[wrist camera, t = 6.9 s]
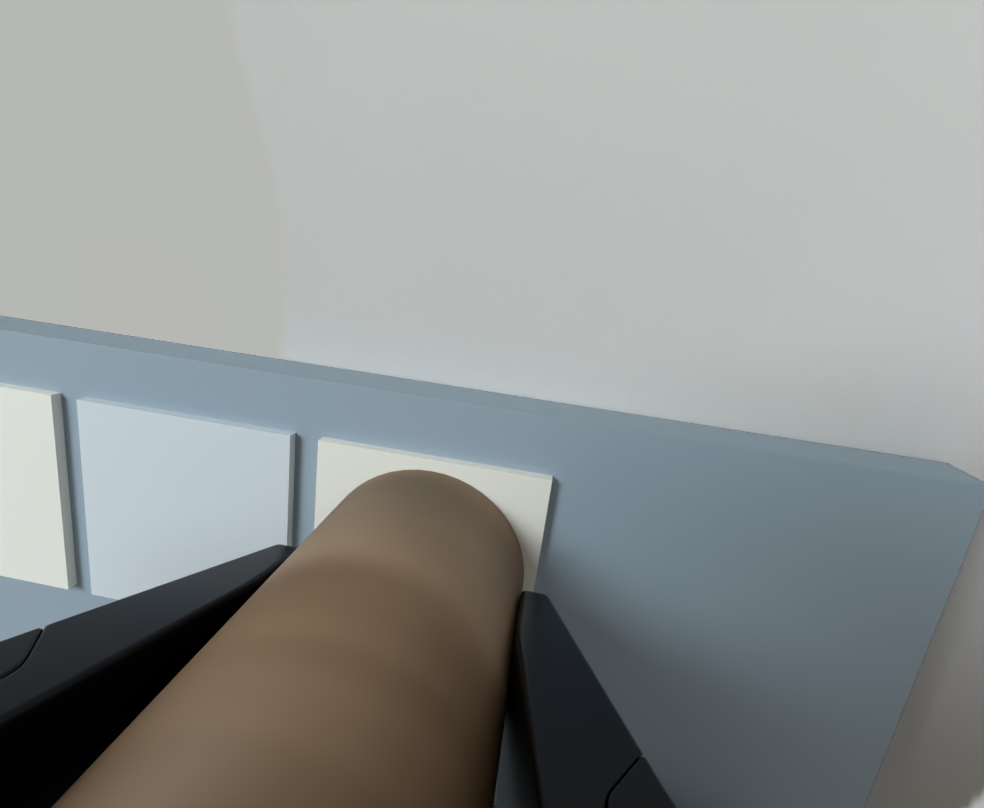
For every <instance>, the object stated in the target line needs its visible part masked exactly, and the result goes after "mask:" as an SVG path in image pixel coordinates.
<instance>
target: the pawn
mask: <svg viewBox="0 0 984 808" xmlns="http://www.w3.org/2000/svg"><path fill="white" fill-rule="evenodd" d="M523 579H524V564H523V557H522V552H521V547H520V544H519V542H518V539H517V536H516V534H515V532H514V530H513V528H512V526H511V524H510V523H509V521H508V520H507V518H506V517H505V516H504V514H503V513H502V512H501V510H500V509H499V508H498V507H497V506H496V505H495V504H494V503H493V502H492V501H491V500H490V499H489V498H488V497H486V496H485V495H484V494H483V493H481V492H480V491H478V490H477V489H476V488H474V487H473V486H471V485H469V484H467V483H465V482H463V481H461V480H459V479H457V478H454V477H451V476H449V475H446V474H442V473H438V472H434V471H427V470H400V471H393V472H389V473H385V474H382V475H378V476H376V477H374V478H372V479H369V480H367V481H366V482H364V483H362V484H361V485H359V486H358V487H356V488H355V489H354V490H353V491H352V492H350V493H349V494H348V495H347V496H346V497H345V498H344V499H343V500H342V501H341V502H340V503H339V504H338V505H337V507H336V508H335V509H334V510H333V511H332V512H331V513H330V514H329V515H328V516H327V517H326V518H325V519H324V520H323V521H322V522H321V523H320V524H319V525H318V527H317V528H316V529H315V530H314V531H313V532H312V533H311V534H310V535H309V536H308V537H307V538H306V539H305V540H304V541H303V542H302V543H301V544H300V546H299V547H298V548H297V549H296V550H295V551H294V552H293V553H292V554H291V555H290V556H289V557H288V558H287V559H286V560H285V561H284V562H283V563H282V565H281V566H280V567H279V568H278V569H277V570H276V571H275V572H274V573H273V574H272V575H271V576H270V577H269V578H268V579H267V580H266V581H265V582H264V583H263V585H262V586H261V587H260V588H259V589H258V590H257V591H256V592H255V593H254V594H253V595H252V596H251V597H250V598H249V599H248V600H247V601H246V602H245V604H244V605H243V606H242V607H241V608H240V609H239V610H238V611H237V612H236V613H235V614H234V615H233V616H232V617H231V618H230V619H229V620H228V621H227V622H226V624H225V625H224V626H223V627H222V628H221V629H220V630H219V631H218V632H217V633H216V634H215V635H214V636H213V637H212V638H211V639H210V640H209V641H208V643H207V644H206V645H205V646H204V647H203V648H202V649H201V650H200V651H199V652H198V653H197V654H196V655H195V656H194V657H193V658H192V659H191V660H190V662H189V663H188V664H187V665H186V666H185V667H184V668H183V669H182V670H181V671H180V672H179V673H178V674H177V675H176V676H175V677H174V678H173V679H172V680H171V682H170V683H169V684H168V685H167V686H166V687H165V688H164V689H163V690H162V691H161V692H160V693H159V694H158V695H157V696H156V697H155V698H154V699H153V701H152V702H151V703H150V704H149V705H148V706H147V707H146V708H145V709H144V710H143V711H142V712H141V713H140V714H139V715H138V716H137V717H136V718H135V720H134V721H133V722H132V723H131V724H130V725H129V726H128V727H127V728H126V729H125V730H124V731H123V732H122V733H121V734H120V735H119V736H118V737H117V738H116V740H115V741H114V742H113V743H112V744H111V745H110V746H109V747H108V748H107V749H106V750H105V751H104V752H103V753H102V754H101V755H100V756H99V757H98V759H97V760H96V761H95V762H94V763H93V764H92V765H91V766H90V767H89V768H88V769H87V770H86V771H85V772H84V773H83V774H82V775H81V776H80V778H79V779H78V780H77V781H76V782H75V783H74V784H73V785H72V786H71V787H70V788H69V789H68V790H67V791H66V792H65V793H64V794H63V795H62V796H61V798H60V799H59V800H58V801H57V802H56V803H55V804H54V805H53V806H52V807H51V808H493V805H494V798H495V790H496V783H497V775H498V768H499V760H500V753H501V745H502V738H503V730H504V723H505V715H506V708H507V700H508V692H509V682H510V672H511V660H512V651H513V644H514V637H515V630H516V622H517V615H518V608H519V601H520V595H521V593H522V588H523Z"/></svg>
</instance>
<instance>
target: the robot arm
mask: <svg viewBox="0 0 984 808" xmlns="http://www.w3.org/2000/svg"><path fill="white" fill-rule="evenodd" d="M296 549H297V547H292V546H287V545H282V544H277V545H274V546H271V547H268V548H265V549H262V550H259V551H257V552H254V553H251V554H248V555H245V556H242V557H240V558H237V559H234V560H231V561H228V562H225V563H222V564H220V565H217V566H214V567H211V568H208V569H205V570H202V571H200V572H197V573H194V574H191V575H188V576H185V577H182V578H180V579H177V580H174V581H171V582H168V583H165V584H163V585H160V586H157V587H154V588H151V589H148V590H145V591H143V592H140V593H137V594H134V595H131V596H128V597H125V598H123V599H120V600H117V601H114V602H111V603H108V604H106V605H103V606H100V607H97V608H94V609H91V610H88V611H86V612H83V613H80V614H77V615H74V616H71V617H68V618H66V619H63V620H60V621H57V622H54V623H51V624H48V625H46V626H45V628H44V629H42V628H37V629H34V630H31V631H28V632H25V633H22V634H20V635H17V636H14V637H11V638H8V639H5V640H3V641H0V808H51V807H52V806H53V805H54V804H55V803H56V802H57V801H58V800H59V799H60V798H61V796H62V795H63V794H64V793H65V792H66V791H67V790H68V789H69V788H70V787H71V786H72V785H73V784H74V783H75V782H76V781H77V780H78V779H79V778H80V776H81V775H82V774H83V773H84V772H85V771H86V770H87V769H88V768H89V767H90V766H91V765H92V764H93V763H94V762H95V761H96V760H97V759H98V757H99V756H100V755H101V754H102V753H103V752H104V751H105V750H106V749H107V748H108V747H109V746H110V745H111V744H112V743H113V742H114V741H115V740H116V738H117V737H118V736H119V735H120V734H121V733H122V732H123V731H124V730H125V729H126V728H127V727H128V726H129V725H130V724H131V723H132V722H133V721H134V720H135V718H136V717H137V716H138V715H139V714H140V713H141V712H142V711H143V710H144V709H145V708H146V707H147V706H148V705H149V704H150V703H151V702H152V701H153V699H154V698H155V697H156V696H157V695H158V694H159V693H160V692H161V691H162V690H163V689H164V688H165V687H166V686H167V685H168V684H169V683H170V682H171V680H172V679H173V678H174V677H175V676H176V675H177V674H178V673H179V672H180V671H181V670H182V669H183V668H184V667H185V666H186V665H187V664H188V663H189V662H190V660H191V659H192V658H193V657H194V656H195V655H196V654H197V653H198V652H199V651H200V650H201V649H202V648H203V647H204V646H205V645H206V644H207V643H208V641H209V640H210V639H211V638H212V637H213V636H214V635H215V634H216V633H217V632H218V631H219V630H220V629H221V628H222V627H223V626H224V625H225V624H226V622H227V621H228V620H229V619H230V618H231V617H232V616H233V615H234V614H235V613H236V612H237V611H238V610H239V609H240V608H241V607H242V606H243V605H244V604H245V602H246V601H247V600H248V599H249V598H250V597H251V596H252V595H253V594H254V593H255V592H256V591H257V590H258V589H259V588H260V587H261V586H262V585H263V583H264V582H265V581H266V580H267V579H268V578H269V577H270V576H271V575H272V574H273V573H274V572H275V571H276V570H277V569H278V568H279V567H280V566H281V565H282V563H283V562H284V561H285V560H286V559H287V558H288V557H289V556H290V555H291V554H292V553H293V552H294V551H295V550H296ZM496 808H677V807H676V806H675V804H674V802H673V801H672V799H671V798H670V796H669V795H668V793H667V792H666V790H665V788H664V787H663V785H662V784H661V782H660V781H659V779H658V777H657V776H656V774H655V772H654V771H653V769H652V767H651V766H650V764H649V762H648V761H647V759H646V758H645V757H643V754H642V751H641V750H640V748H639V746H638V745H637V743H636V741H635V740H634V738H633V736H632V735H631V733H630V731H629V730H628V728H627V726H626V725H625V723H624V721H623V720H622V718H621V716H620V715H619V713H618V711H617V710H616V708H615V706H614V705H613V703H612V702H611V700H610V698H609V697H608V695H607V693H606V692H605V690H604V688H603V687H602V685H601V683H600V682H599V680H598V678H597V677H596V675H595V673H594V672H593V670H592V668H591V667H590V665H589V663H588V662H587V660H586V658H585V657H584V655H583V653H582V652H581V650H580V649H579V647H578V645H577V644H576V642H575V640H574V639H573V637H572V635H571V634H570V632H569V630H568V629H567V627H566V625H565V624H564V622H563V620H562V619H561V617H560V615H559V614H558V612H557V610H556V609H555V607H554V605H553V604H552V602H551V600H550V599H549V597H548V596H547V595H545V594H542V593H536V592H531V591H523V592H522V593H521V595H520V601H519V608H518V615H517V622H516V630H515V637H514V644H513V651H512V660H511V672H510V682H509V692H508V700H507V708H506V715H505V723H504V730H503V738H502V745H501V753H500V760H499V768H498V775H497V799H496Z"/></svg>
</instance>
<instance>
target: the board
mask: <svg viewBox="0 0 984 808" xmlns="http://www.w3.org/2000/svg"><path fill="white" fill-rule="evenodd" d="M400 470H427V471H434V472H438V473H442V474H446V475H449V476H451V477H454V478H457V479H459V480H461V481H463V482H465V483H467V484H469V485H471V486H473V487H474V488H476V489H477V490H478V491H480V492H481V493H483V494H484V495H485V496H486V497H488V498H489V499H490V500H491V501H492V502H493V503H494V504H495V505H496V506H497V507H498V508H499V509H500V510H501V512H502V513H503V514H504V516H505V517H506V518H507V520H508V521H509V523H510V524H511V526H512V528H513V530H514V532H515V534H516V536H517V539H518V542H519V544H520V547H521V552H522V557H523V564H524V579H523V588H522V592H523V591H531V592H536V593H542V594H545V595H547V596H548V597H549V599H550V600H551V602H552V604H553V605H554V607H555V609H556V610H557V612H558V614H559V615H560V617H561V619H562V620H563V622H564V624H565V625H566V627H567V629H568V630H569V632H570V634H571V635H572V637H573V639H574V640H575V642H576V644H577V645H578V647H579V649H580V650H581V652H582V653H583V655H584V657H585V658H586V660H587V662H588V663H589V665H590V667H591V668H592V670H593V672H594V673H595V675H596V677H597V678H598V680H599V682H600V683H601V685H602V687H603V688H604V690H605V692H606V693H607V695H608V697H609V698H610V700H611V702H612V703H613V705H614V706H615V708H616V710H617V711H618V713H619V715H620V716H621V718H622V720H623V721H624V723H625V725H626V726H627V728H628V730H629V731H630V733H631V735H632V736H633V738H634V740H635V741H636V743H637V745H638V746H639V748H640V750H641V751H642V754H643V757H645V758H646V759H647V761H648V762H649V764H650V766H651V767H652V769H653V771H654V772H655V774H656V776H657V777H658V779H659V781H660V782H661V784H662V785H663V787H664V788H665V790H666V792H667V793H668V795H669V796H670V798H671V799H672V801H673V802H674V804H675V806H676V807H677V808H864V806H865V804H866V801H867V799H868V796H869V794H870V791H871V789H872V786H873V784H874V781H875V779H876V776H877V774H878V771H879V769H880V766H881V764H882V761H883V759H884V756H885V754H886V751H887V749H888V747H889V744H890V742H891V739H892V737H893V734H894V732H895V729H896V727H897V724H898V722H899V719H900V717H901V714H902V712H903V709H904V707H905V704H906V702H907V699H908V697H909V694H910V692H911V689H912V687H913V684H914V682H915V679H916V677H917V674H918V672H919V669H920V667H921V664H922V662H923V659H924V657H925V654H926V652H927V649H928V647H929V644H930V642H931V639H932V637H933V634H934V632H935V629H936V627H937V624H938V622H939V619H940V617H941V615H942V612H943V610H944V607H945V605H946V602H947V600H948V597H949V595H950V592H951V590H952V587H953V585H954V582H955V580H956V577H957V575H958V572H959V570H960V567H961V565H962V562H963V560H964V557H965V555H966V552H967V550H968V547H969V545H970V542H971V540H972V537H973V535H974V532H975V530H976V527H977V525H978V522H979V520H980V517H981V515H982V512H983V510H984V482H983V481H981V480H979V479H977V478H975V477H973V476H971V475H969V474H967V473H965V472H964V471H962V470H960V469H958V468H956V467H954V466H952V465H950V464H948V463H943V462H936V461H930V460H923V459H917V458H910V457H904V456H898V455H891V454H885V453H878V452H872V451H865V450H859V449H853V448H846V447H840V446H833V445H827V444H821V443H814V442H808V441H801V440H795V439H788V438H782V437H776V436H769V435H763V434H756V433H750V432H744V431H737V430H731V429H724V428H718V427H711V426H705V425H699V424H692V423H686V422H679V421H673V420H667V419H660V418H654V417H647V416H641V415H634V414H628V413H622V412H615V411H609V410H602V409H596V408H590V407H583V406H577V405H570V404H564V403H557V402H551V401H545V400H538V399H532V398H525V397H519V396H512V395H506V394H500V393H493V392H487V391H480V390H474V389H468V388H461V387H455V386H448V385H442V384H435V383H429V382H423V381H416V380H410V379H403V378H397V377H391V376H384V375H378V374H371V373H365V372H358V371H352V370H346V369H339V368H333V367H326V366H320V365H314V364H307V363H301V362H294V361H288V360H281V359H275V358H269V357H262V356H256V355H249V354H243V353H236V352H229V351H224V350H217V349H210V348H204V347H198V346H192V345H185V344H179V343H172V342H166V341H160V340H153V339H147V338H140V337H134V336H127V335H121V334H114V333H108V332H101V331H95V330H89V329H82V328H76V327H70V326H63V325H56V324H50V323H44V322H37V321H31V320H24V319H18V318H12V317H5V316H0V641H3V640H5V639H8V638H11V637H14V636H17V635H20V634H22V633H25V632H28V631H31V630H34V629H37V628H42V629H44V628H45V626H46V625H48V624H51V623H54V622H57V621H60V620H63V619H66V618H68V617H71V616H74V615H77V614H80V613H83V612H86V611H88V610H91V609H94V608H97V607H100V606H103V605H106V604H108V603H111V602H114V601H117V600H120V599H123V598H125V597H128V596H131V595H134V594H137V593H140V592H143V591H145V590H148V589H151V588H154V587H157V586H160V585H163V584H165V583H168V582H171V581H174V580H177V579H180V578H182V577H185V576H188V575H191V574H194V573H197V572H200V571H202V570H205V569H208V568H211V567H214V566H217V565H220V564H222V563H225V562H228V561H231V560H234V559H237V558H240V557H242V556H245V555H248V554H251V553H254V552H257V551H259V550H262V549H265V548H268V547H271V546H274V545H277V544H282V545H287V546H292V547H297V548H298V547H299V546H300V544H301V543H302V542H303V541H304V540H305V539H306V538H307V537H308V536H309V535H310V534H311V533H312V532H313V531H314V530H315V529H316V528H317V527H318V525H319V524H320V523H321V522H322V521H323V520H324V519H325V518H326V517H327V516H328V515H329V514H330V513H331V512H332V511H333V510H334V509H335V508H336V507H337V505H338V504H339V503H340V502H341V501H342V500H343V499H344V498H345V497H346V496H347V495H348V494H349V493H350V492H352V491H353V490H354V489H355V488H356V487H358V486H359V485H361V484H362V483H364V482H366V481H367V480H369V479H372V478H374V477H376V476H378V475H382V474H385V473H389V472H393V471H400ZM496 799H497V783H496V790H495V798H494V805H493V808H496Z"/></svg>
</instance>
